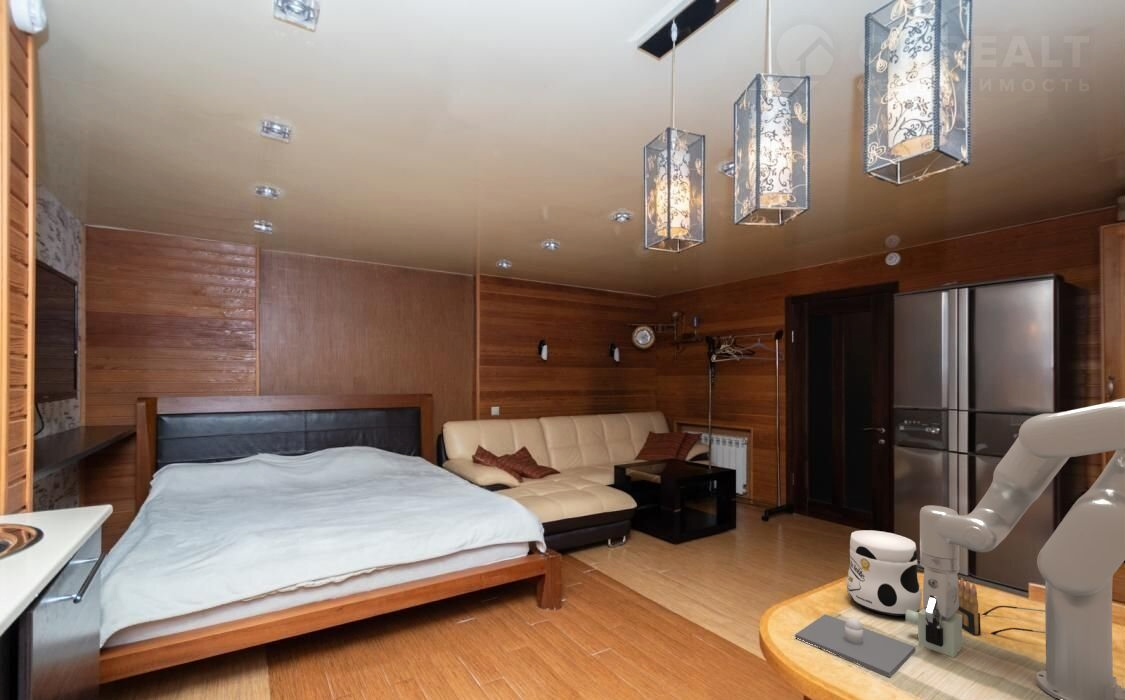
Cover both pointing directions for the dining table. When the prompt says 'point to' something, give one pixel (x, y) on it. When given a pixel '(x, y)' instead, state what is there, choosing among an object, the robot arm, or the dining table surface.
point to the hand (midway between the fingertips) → (939, 637)
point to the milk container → (883, 572)
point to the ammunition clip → (969, 608)
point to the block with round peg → (950, 632)
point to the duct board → (857, 644)
